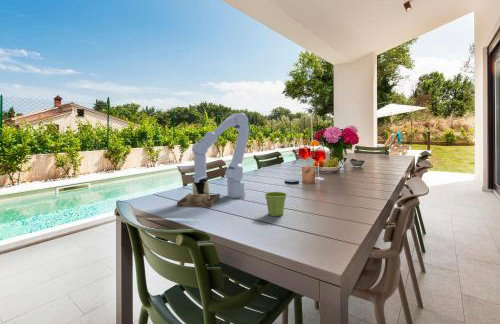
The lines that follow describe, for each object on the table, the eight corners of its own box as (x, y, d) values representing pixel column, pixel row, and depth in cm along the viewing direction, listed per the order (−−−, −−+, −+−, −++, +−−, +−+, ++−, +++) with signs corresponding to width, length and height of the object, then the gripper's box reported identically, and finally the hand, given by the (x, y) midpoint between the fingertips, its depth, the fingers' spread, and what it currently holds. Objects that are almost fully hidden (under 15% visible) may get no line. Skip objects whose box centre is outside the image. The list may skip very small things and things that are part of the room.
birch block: (209, 199, 140) (209, 182, 139) (208, 200, 139) (208, 182, 138) (194, 199, 141) (193, 181, 140) (193, 200, 140) (192, 182, 139)
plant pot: (260, 215, 117) (260, 195, 116) (270, 210, 125) (269, 190, 124) (282, 219, 112) (282, 197, 111) (290, 212, 121) (290, 192, 120)
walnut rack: (219, 199, 145) (219, 193, 145) (211, 209, 127) (211, 202, 127) (189, 198, 147) (189, 193, 147) (177, 208, 129) (177, 202, 129)
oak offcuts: (206, 203, 133) (206, 194, 133) (205, 205, 130) (205, 195, 130) (188, 203, 134) (188, 194, 134) (186, 205, 131) (186, 195, 131)
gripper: (196, 165, 146) (197, 191, 147) (187, 169, 131) (188, 197, 133) (210, 165, 145) (210, 191, 147) (202, 169, 131) (203, 197, 132)
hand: (201, 194), depth 140 cm, fingers closed on birch block, 1 cm apart
